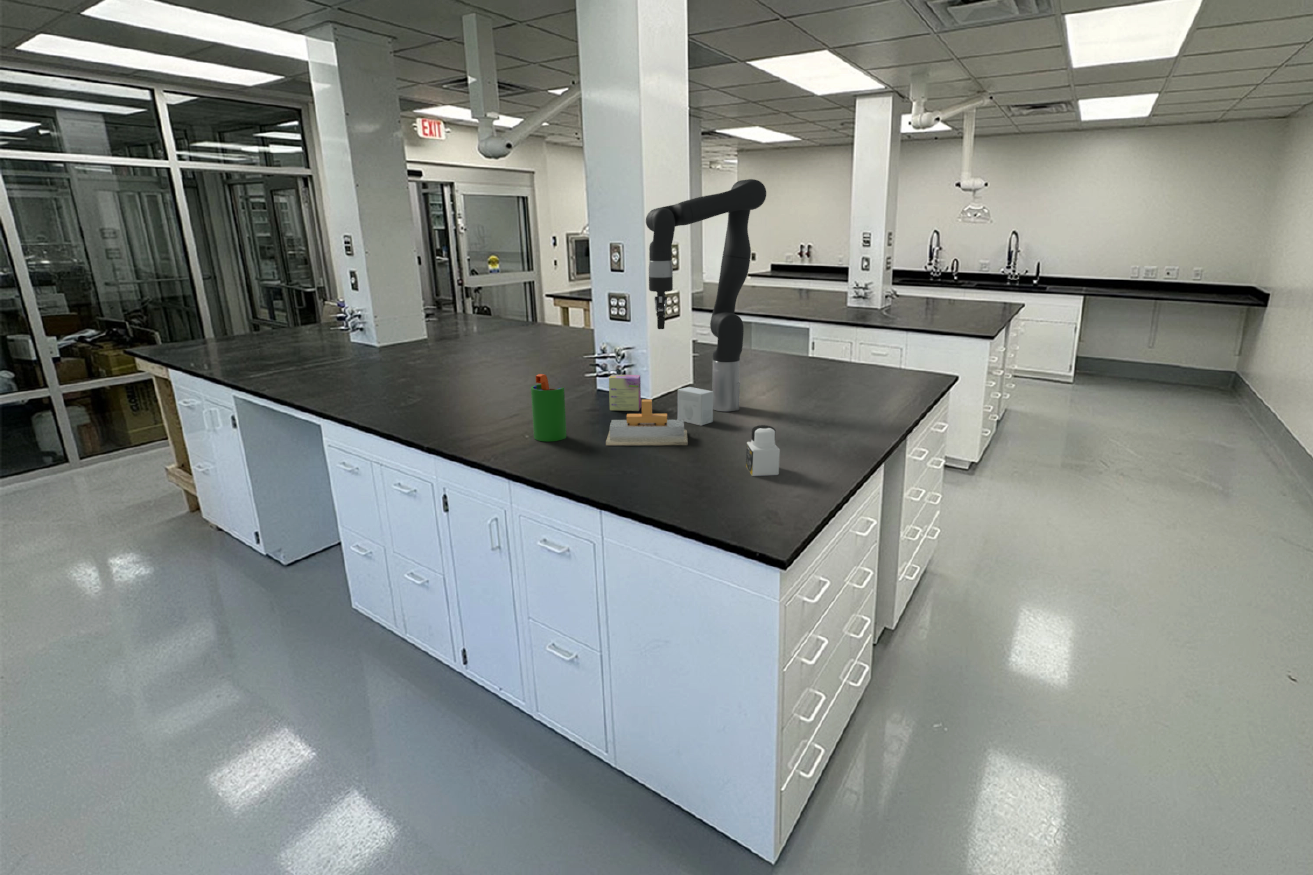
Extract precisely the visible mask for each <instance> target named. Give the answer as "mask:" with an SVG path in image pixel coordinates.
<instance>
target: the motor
mask: <svg viewBox="0 0 1313 875" xmlns="http://www.w3.org/2000/svg"><path fill="white" fill-rule="evenodd" d="M535 383H536V384H535V385H532V386H531V387H530V393H531V394H530V396H531V411H532V413H531V414H532V427H533V439H534V440H536V441H539V442H557V441H558V442H559V441H562V440H565V439H567V418H566V403H565V402H566V400H565V387H559V388H550V385H549V384H550V383H549V379H548V376H547V374H544V373H543V374H542V373H538V374H537V375H535Z"/></svg>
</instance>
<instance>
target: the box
mask: <svg viewBox="0 0 1313 875" xmlns="http://www.w3.org/2000/svg"><path fill="white" fill-rule="evenodd" d="M641 385H642V384H641V375H640V374H610V376H609V377H608V391H609V392H608V396H609V402H608V403H609V411H623V412H625V411H626V412H639V411H640V409H641V408H642V398H641V397H642V396H641V395H642V394H641V392H642V389H641Z"/></svg>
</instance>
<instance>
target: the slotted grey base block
mask: <svg viewBox="0 0 1313 875" xmlns="http://www.w3.org/2000/svg"><path fill="white" fill-rule="evenodd" d="M609 424H610V425H609V431H608V434H607V438H606V440H605V446H688V445H689V444H688V443H689V442H688V430H687V429H685V422H684V420H677V419H667V423H664V424H665V425H656V423H638V425H629V423H627V419H611V422H610V423H609Z"/></svg>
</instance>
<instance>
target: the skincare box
mask: <svg viewBox="0 0 1313 875" xmlns="http://www.w3.org/2000/svg"><path fill="white" fill-rule="evenodd" d="M713 417H714V409H713V391H712V390H708V389H703V388H698V387H697V388H696V387H693V386H687V387H683V388H679V389H677V419H676V420H684V423H688V424H691V425H692V424H693V425H697V426H701V427H702V426H704V425H707V424H710V423H713V422H714V420H713V419H714V418H713Z"/></svg>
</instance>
